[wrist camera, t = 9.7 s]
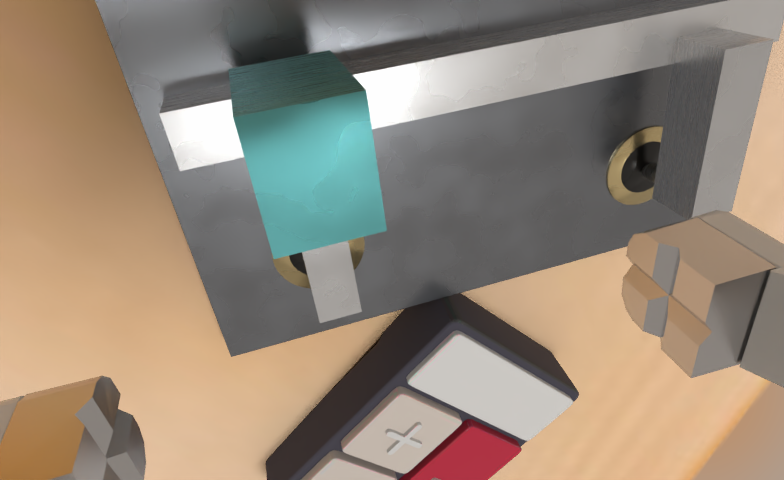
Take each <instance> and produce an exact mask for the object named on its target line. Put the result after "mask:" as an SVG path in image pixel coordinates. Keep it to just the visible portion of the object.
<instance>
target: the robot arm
mask: <svg viewBox="0 0 784 480" xmlns="http://www.w3.org/2000/svg"><path fill="white" fill-rule="evenodd" d="M626 256H627V257H628V259H629V260H630V261H631V262H632V264H633V265H632V266H631V268H630V269H629V271H628V272H627V273H626V275H625V276H624V277H623V285H622V297H623V300H624V304H625V308H626V310H627V312H628V313H629V315H630V317H631V318H632V320H633V321H634V322H635V323H636V324H637V325H638V326H639V327H640V328H641V329H642V330H643V331H645V332H647V333H650V334H653V335H655V336H658V337H660V338H661V349H662V350H663V351H664V352H665V353H666V354H667V355H668V356H669V357H670V358H671V359H672V360H673V361H674V362H675V363H676V364H677V365H678V366H679V367H680V368H681V369H682V370H683V371H684V372H685V373H686V374H687V375H688V376H689V377H690V378H693V377H697V376H700V375H704V374H707V373H710V372H714V371H717V370H721V369H724V368H728V367H731V366H735V365H738V364H740V367H741V368H743V369H745V370H747V371H750V372H752V373H754V374H756V375H758V376H760V377H762V378H765V379H767V380H769V381H771V382H773V383H775V384H777V385H780V386H782V387H784V244H783V243H781V242H779V241H777V240H776V239H774V238H772V237H771V236H769V235H767V234H765V233H764V232H762V231H760V230H759V229H757V228H755V227H753V226H752V225H750V224H748V223H747V222H745V221H743V220H741V219H740V218H738V217H736V216H735V215H733V214H731V213H729V212H726V211H720V210H715V211H712V212H708V213H705V214H702V215H698V216H695V217H691V218H689V219H688V220H683V221H680V222H676V223H672V224H669V225H665V226H662V227H658V228H654V229H651V230H647V231H643V232H640V233H636V234H634V235H633V236H632V238H631V239H630V241H629V243H628V249H627V255H626ZM119 399H120V393H119V391H118V389H117V388H116V386H115V385H114V383H113V382H112V380H111V378H108V377H104V376H99V377H95V378H91V379H87V380H83V381H79V382H75V383H71V384H67V385H63V386H59V387H55V388H51V389H46V390H42V391H38V392H34V393H30V394H27V395H25V396H20V397H16V398H12V399H8V400H4V401H0V480H144V474H145V465H146V459H145V449H144V441H143V438H142V435H141V432H140V428H139V426H138V424H137V422H136V421H135V419H134V417H133V415H131V414H128V413H126V412H124V411H121V410H119V409H118V404H119Z"/></svg>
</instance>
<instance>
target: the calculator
mask: <svg viewBox="0 0 784 480" xmlns="http://www.w3.org/2000/svg"><path fill="white" fill-rule="evenodd" d="M578 396H579V392H578V391H577V389H576V388H575V386H574V385H573V383H572V382H571V380H570V379H569V377H568V376H567V374H566V373H565V371H564V370H563V369H562V367H561V366H560V364H559V363H558V361H557V360H556V359H555V357H554V356H553V354H552V353H551V352H550V351H549V350H547V349H546V348H544V347H543V346H541V345H540V344H538V343H537V342H535V341H533V340H532V339H530V338H529V337H527V336H526V335H524V334H523V333H521V332H520V331H518V330H516V329H515V328H513V327H512V326H510V325H509V324H507V323H506V322H504V321H503V320H501V319H499V318H498V317H496V316H495V315H493V314H492V313H490V312H489V311H487V310H486V309H484V308H482V307H481V306H479V305H478V304H476V303H475V302H473V301H472V300H470V299H469V298H467V297H465V296H464V295H462V294H461V293H458V294H454V295H451V296H447V297H444V298H440V299H436V300H433V301H429V302H426V303H422V304H418V305H415V306H411V307H408V308H405V309H404V310H403V312H402V313H401V314H400V315H399V316H398V317H397V318H396V319H395V320H394V321H393V323H392V324H391V325H390V326H389V327H388V328H387V329H386V330H385V331H384V332H383V334H382V335H381V338H380V340H379V342H378V343H377V344H376V345H375V346H374V347H373V348H372V349H371V350H370V351H369V352H368V353H367V354H366V355H365V356H364V357H363V358H362V359H361V360H360V361H359V362H358V363H357V364H356V365H355V366H354V367H353V368H352V369H351V371H350V372H349V373H348V374H347V375H346V376H345V377H344V378H343V379H342V380H341V381H340V382H339V383H338V384H337V385H336V386H335V387H334V388H333V389H332V390H331V391H330V392H329V393H328V394H327V395H326V396H325V397H324V398H323V399H322V400H321V401H320V403H319V404H318V405H317V406H316V407H315V408H314V409H313V410H312V411H311V412H310V413H309V415H308V416H307V417H306V418H305V419H304V420H303V421H302V422H301V423H300V424H299V425H298V426H297V428H296V429H295V430H294V431H293V432H292V433H291V434H290V435H289V436H288V437H287V439H286V440H285V441H284V442H283V443H282V444H281V445H280V446H279V447H278V448H277V449H276V451H275V452H274V453H273V454H272V455H271V456H270V457H269V458H268V459H267V461H266V472H267V480H488V479H489V478H490V477H492V476H493V475H494V474H495V473H496V472H498V471H499V470H500V469H501V468H502V467H503V466H505V465H506V464H507V463H508V462H509V461H511V460H512V459H513V458H514V457H515V456H516V455H518V454H519V453H520V452H521V446H522V445H523V444H524V443H525V442H527V441H529V440H530V439H532V438H533V437H534V436H536V435H537V434H538V433H539V432H540V431H541V430H543V429H544V428H545V427H546V426H547V425H549V424H550V423H551V422H552V421H553V420H554V419H556V418H557V417H558V416H559V415H560V414H562V413H563V412H564V411H565V410H566V409H567V408H569V407H570V406H571V405H572V404H573V402H574V401H575V400H576V399H577V398H578Z"/></svg>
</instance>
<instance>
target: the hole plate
mask: <svg viewBox="0 0 784 480" xmlns="http://www.w3.org/2000/svg"><path fill="white" fill-rule="evenodd" d="M95 2H96V4H97V7H98V10H99V12H100V15H101V18H102V20H103V23H104V25H105V28H106V31H107V33H108V36H109V38H110V41H111V44H112V46H113V49H114V52H115V54H116V57H117V59H118V62H119V65H120V67H121V70H122V72H123V75H124V78H125V80H126V83H127V86H128V88H129V91H130V93H131V96H132V99H133V101H134V104H135V106H136V109H137V112H138V114H139V117H140V120H141V122H142V125H143V127H144V130H145V133H146V135H147V138H148V140H149V143H150V146H151V148H152V151H153V154H154V156H155V159H156V161H157V164H158V167H159V169H160V172H161V174H162V177H163V180H164V182H165V185H166V188H167V190H168V193H169V195H170V198H171V201H172V203H173V206H174V208H175V211H176V214H177V216H178V219H179V222H180V224H181V227H182V229H183V232H184V235H185V237H186V240H187V242H188V245H189V248H190V250H191V253H192V256H193V258H194V261H195V263H196V266H197V269H198V271H199V274H200V276H201V279H202V282H203V284H204V287H205V290H206V292H207V295H208V297H209V300H210V303H211V305H212V308H213V310H214V313H215V316H216V318H217V321H218V324H219V326H220V329H221V331H222V334H223V337H224V339H225V342H226V344H227V347H228V350H229V352H230V355H231V357H232V356H236V355H240V354H243V353H247V352H250V351H254V350H257V349H261V348H265V347H268V346H272V345H275V344H279V343H282V342H286V341H290V340H293V339H297V338H300V337H304V336H308V335H311V334H315V333H318V332H322V331H325V330H329V329H333V328H336V327H340V326H343V325H347V324H350V323H354V322H358V321H361V320H365V319H368V318H372V317H376V316H379V315H383V314H386V313H390V312H393V311H397V310H401V309H404V308H408V307H411V306H415V305H418V304H422V303H426V302H429V301H433V300H436V299H440V298H444V297H447V296H451V295H454V294H458V293H461V292H465V291H469V290H472V289H476V288H479V287H483V286H486V285H490V284H494V283H497V282H501V281H504V280H508V279H512V278H515V277H519V276H522V275H526V274H529V273H533V272H537V271H540V270H544V269H547V268H551V267H554V266H558V265H562V264H565V263H569V262H572V261H576V260H580V259H583V258H587V257H590V256H594V255H597V254H601V253H605V252H608V251H612V250H615V249H619V248H622V247H626V246H628V243H629V241H630V239H631V238H632V236H633V235H634V234H636V233H640V232H643V231H647V230H651V229H654V228H658V227H662V226H665V225H669V224H672V223H676V222H680V221H683V220H688V219H689V218H691V217H695V216H698V215H702V214H705V213H708V212H712V211H715V210H720V211H726V212H730V211H732V208H733V204H734V199H735V195H736V191H737V187H738V183H739V179H740V175H741V171H742V167H743V163H744V159H745V154H746V150H747V146H748V142H749V138H750V134H751V130H752V126H753V122H754V118H755V114H756V109H757V105H758V101H759V97H760V93H761V89H762V85H763V81H764V77H765V73H766V69H767V64H768V60H769V56H770V52H771V48H772V44H773V42H775V41H779V37H780V32H781V28H782V24H783V20H784V0H95ZM326 50H330V51H331V52H332V53H333V54H334V55H335V56H336V57H337V59H338V60H339V61H340V62H341V63H342V64H343V65H344V66H345V67H346V68H347V70H348V71H349V72H350V73H351V74H352V75H353V76H354V77H355V78H356V79H357V81H358V82H359V83H360V84H361V85H362V86H363V87H364V88H365V89H366V92H367V99H368V105H369V112H370V119H371V126H372V132H373V139H374V146H375V153H376V160H377V166H378V173H379V180H380V187H381V194H382V200H383V207H384V214H385V221H386V228H387V231H384V232H380V233H376V234H372V235H368V236H364V237H360V238H356V239H352V240H348V243H349V248H350V253H351V258H352V263H353V269H354V274H355V279H356V284H357V289H358V294H359V299H360V305H361V310H362V312H359V313H356V314H352V315H348V316H345V317H341V318H337V319H334V320H330V321H327V322H323V323H320V322H319V318H318V314H317V310H316V306H315V303H314V299H313V295H312V291H311V287H310V283H309V279H308V275H307V271H306V267H305V263H304V260H303V256H302V252H301V253H297V254H293V255H289V256H285V257H281V258H277V259H274V258H273V255H272V251H271V248H270V244H269V241H268V237H267V234H266V230H265V227H264V223H263V220H262V216H261V213H260V209H259V206H258V202H257V199H256V195H255V192H254V189H253V185H252V182H251V178H250V175H249V171H248V168H247V164H246V161H245V157H244V154H243V150H242V147H241V143H240V140H239V136H238V133H237V129H236V126H235V122H234V119H233V111H232V101H231V91H230V81H229V70H228V69H231V68H236V67H242V66H247V65H252V64H257V63H263V62H268V61H273V60H279V59H284V58H289V57H294V56H300V55H305V54H310V53H316V52H321V51H326Z"/></svg>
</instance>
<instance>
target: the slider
mask: <svg viewBox="0 0 784 480" xmlns="http://www.w3.org/2000/svg"><path fill="white" fill-rule="evenodd" d="M228 70H229V81H230V91H231V101H232V111H233V119H234V122H235V126H236V129H237V133H238V136H239V140H240V143H241V147H242V150H243V154H244V157H245V161H246V164H247V168H248V171H249V175H250V178H251V182H252V185H253V189H254V192H255V195H256V199H257V202H258V206H259V209H260V213H261V216H262V220H263V223H264V227H265V230H266V234H267V237H268V241H269V244H270V248H271V251H272V255H273V258H274V259H277V258H281V257H285V256H289V255H293V254H297V253H301V252H302V256H303V260H304V263H305V267H306V271H307V275H308V279H309V283H310V287H311V291H312V295H313V299H314V303H315V306H316V310H317V314H318V318H319V322H320V323H323V322H327V321H330V320H334V319H337V318H341V317H345V316H348V315H352V314H356V313H359V312H362V310H361V305H360V299H359V294H358V289H357V284H356V279H355V274H354V269H353V263H352V258H351V253H350V248H349V243H348V240H352V239H356V238H360V237H364V236H368V235H372V234H376V233H380V232H384V231H387V228H386V221H385V214H384V207H383V200H382V194H381V187H380V180H379V173H378V166H377V160H376V153H375V146H374V139H373V132H372V126H371V119H370V112H369V105H368V99H367V92H366V89H365V88H364V87H363V86H362V85H361V84H360V83H359V82H358V81H357V79H356V78H355V77H354V76H353V75H352V74H351V73H350V72H349V71H348V70H347V68H346V67H345V66H344V65H343V64H342V63H341V62H340V61H339V60H338V59H337V57H336V56H335V55H334V54H333V53H332V52H331V51H330V50H326V51H321V52H316V53H310V54H305V55H300V56H294V57H289V58H284V59H279V60H273V61H268V62H263V63H257V64H252V65H247V66H242V67H236V68H231V69H228Z"/></svg>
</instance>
